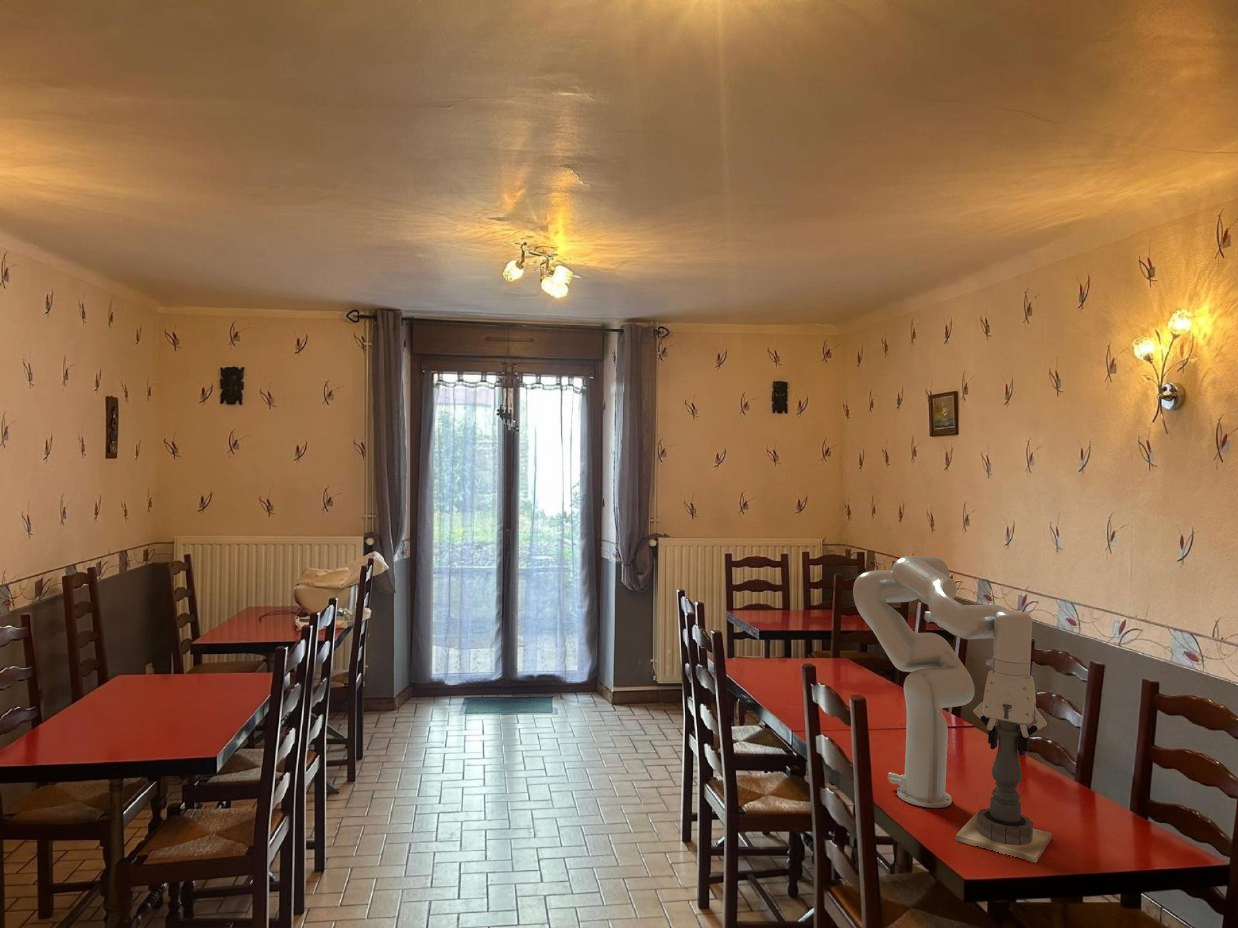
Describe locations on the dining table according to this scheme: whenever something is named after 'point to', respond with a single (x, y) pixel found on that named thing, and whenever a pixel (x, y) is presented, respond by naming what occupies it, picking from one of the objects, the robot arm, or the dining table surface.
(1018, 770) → the dark grey pepper mill
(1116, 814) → the dining table surface
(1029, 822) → the collar base
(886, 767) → the dining table surface
